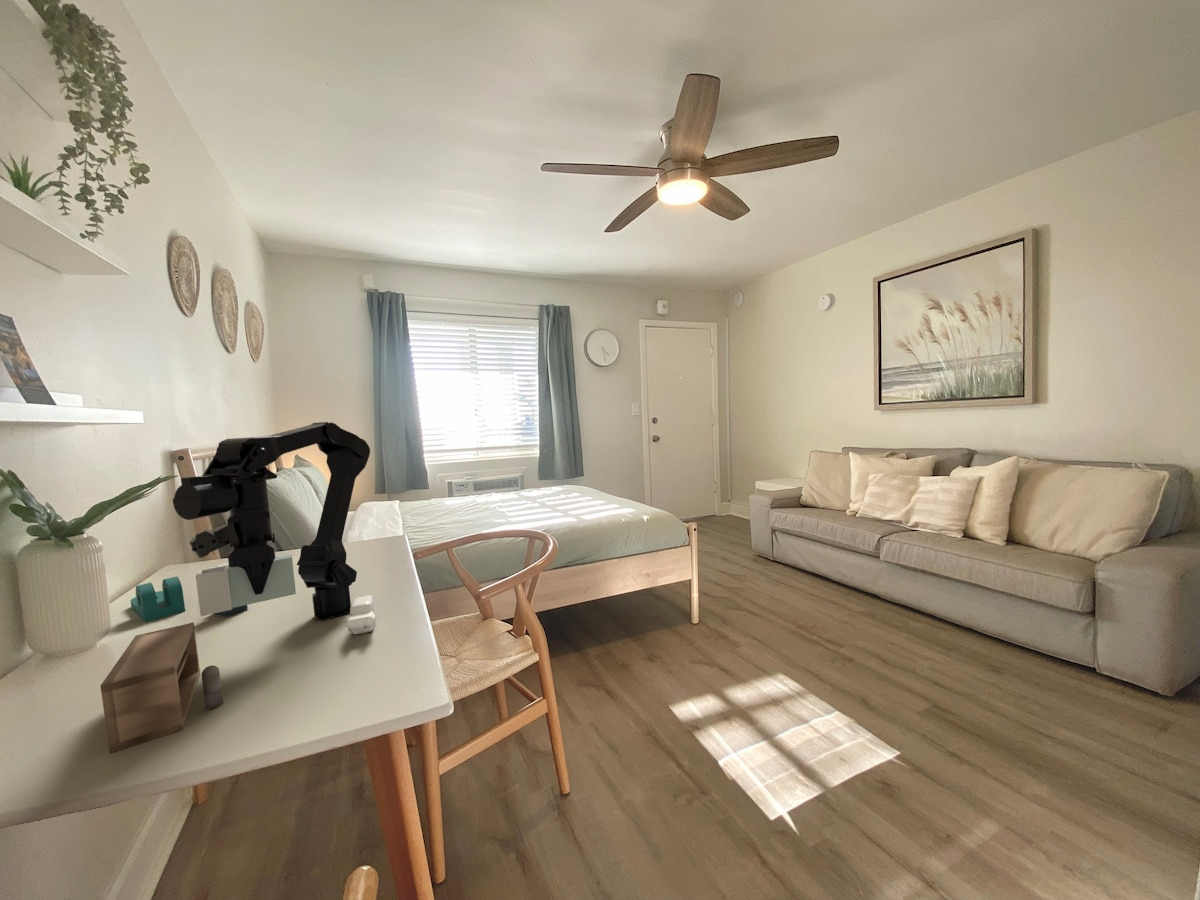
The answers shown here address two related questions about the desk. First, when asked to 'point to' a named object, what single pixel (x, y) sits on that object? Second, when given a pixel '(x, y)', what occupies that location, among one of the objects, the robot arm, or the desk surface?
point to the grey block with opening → (241, 586)
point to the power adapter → (361, 615)
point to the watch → (234, 610)
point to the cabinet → (155, 687)
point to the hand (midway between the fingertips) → (259, 591)
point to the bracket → (158, 600)
